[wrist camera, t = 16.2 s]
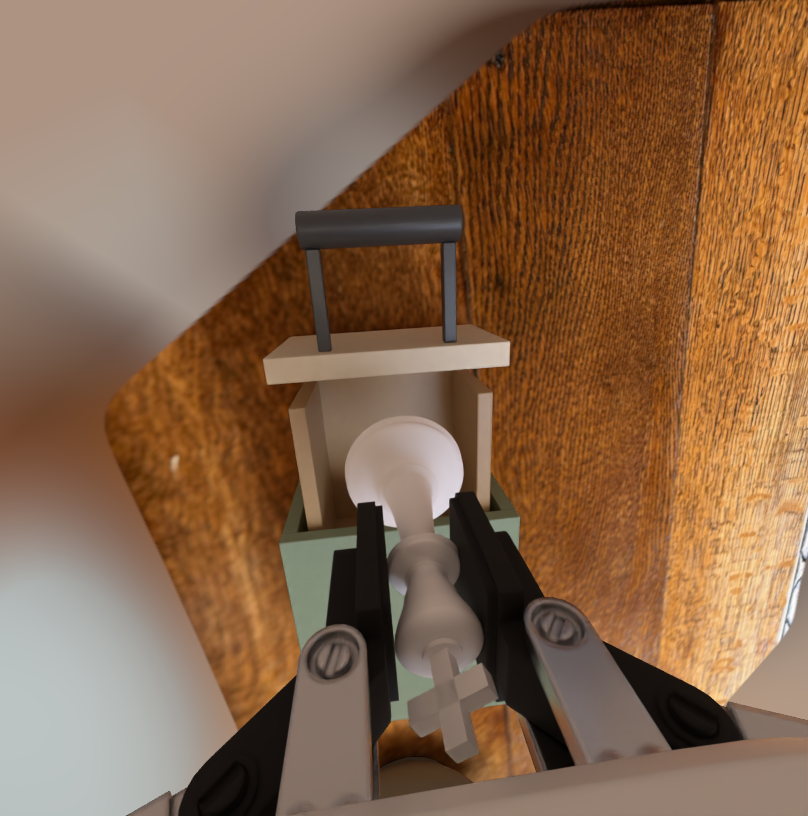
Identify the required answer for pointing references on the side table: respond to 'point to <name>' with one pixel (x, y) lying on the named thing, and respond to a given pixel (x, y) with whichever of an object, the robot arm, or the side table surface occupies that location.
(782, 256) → the side table surface
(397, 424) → the chess piece
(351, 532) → the cabinet
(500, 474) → the side table surface
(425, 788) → the bowl
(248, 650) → the side table surface
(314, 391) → the drawer
